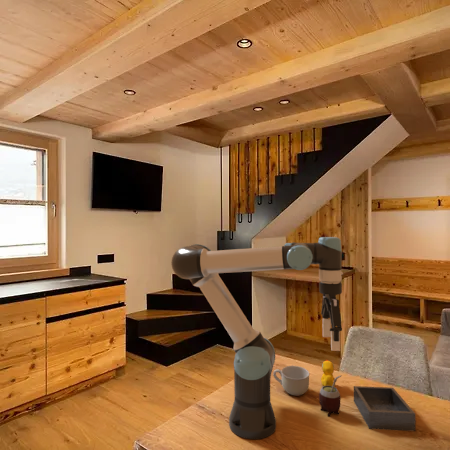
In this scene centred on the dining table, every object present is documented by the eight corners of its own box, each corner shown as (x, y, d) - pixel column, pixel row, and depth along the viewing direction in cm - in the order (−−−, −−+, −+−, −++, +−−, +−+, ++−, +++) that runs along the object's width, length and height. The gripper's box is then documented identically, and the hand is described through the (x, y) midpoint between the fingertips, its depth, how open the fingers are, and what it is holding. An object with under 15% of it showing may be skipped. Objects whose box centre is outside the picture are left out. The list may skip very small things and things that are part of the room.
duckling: (320, 380, 141) (320, 356, 141) (333, 381, 139) (333, 357, 139) (322, 393, 130) (321, 367, 130) (336, 394, 128) (336, 368, 128)
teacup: (313, 389, 132) (313, 369, 132) (303, 401, 123) (303, 380, 123) (280, 381, 140) (280, 361, 140) (269, 392, 131) (269, 371, 131)
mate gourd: (321, 404, 121) (320, 363, 121) (344, 410, 118) (344, 367, 118) (317, 415, 114) (317, 371, 114) (341, 421, 111) (341, 375, 111)
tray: (369, 428, 107) (369, 411, 107) (353, 401, 124) (353, 386, 124) (415, 431, 105) (415, 413, 106) (393, 402, 122) (393, 387, 122)
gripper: (351, 288, 103) (352, 357, 103) (333, 276, 128) (333, 331, 128) (326, 288, 104) (327, 356, 104) (313, 276, 129) (313, 331, 129)
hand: (330, 343), depth 116 cm, fingers open, 13 cm apart
